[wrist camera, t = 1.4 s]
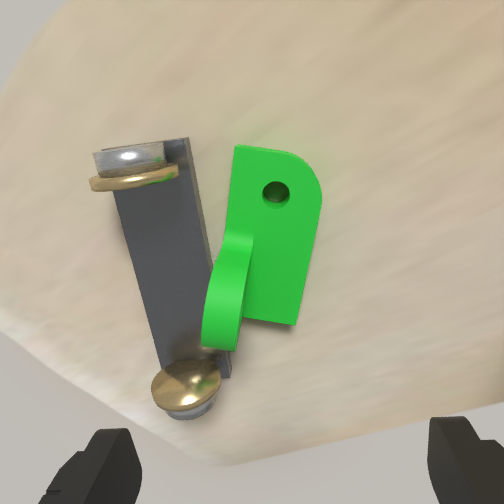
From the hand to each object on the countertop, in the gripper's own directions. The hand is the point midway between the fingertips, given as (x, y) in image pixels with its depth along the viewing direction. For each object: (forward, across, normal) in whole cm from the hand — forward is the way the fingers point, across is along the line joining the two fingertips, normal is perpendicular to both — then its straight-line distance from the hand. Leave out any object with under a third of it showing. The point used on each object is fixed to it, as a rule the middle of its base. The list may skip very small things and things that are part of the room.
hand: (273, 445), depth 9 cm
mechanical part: (+18, +1, 0) cm, 18 cm away
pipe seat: (+17, +8, +2) cm, 19 cm away
